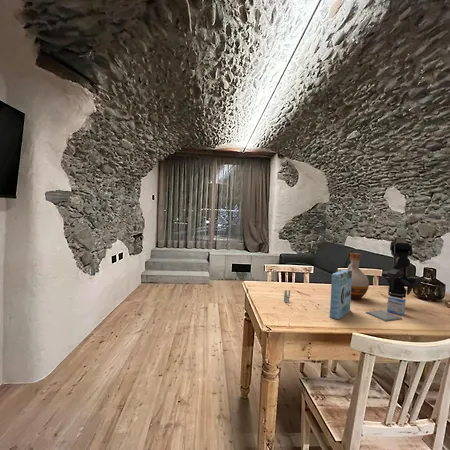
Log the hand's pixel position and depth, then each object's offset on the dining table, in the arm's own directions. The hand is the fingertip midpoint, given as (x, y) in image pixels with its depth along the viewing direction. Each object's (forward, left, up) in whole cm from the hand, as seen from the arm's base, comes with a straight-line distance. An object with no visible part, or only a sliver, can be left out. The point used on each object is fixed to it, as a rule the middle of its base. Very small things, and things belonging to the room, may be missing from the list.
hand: (399, 292), depth 148 cm
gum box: (-7, -35, -12) cm, 37 cm away
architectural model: (-29, -48, -13) cm, 57 cm away
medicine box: (-1, -1, -12) cm, 12 cm away
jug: (-29, -4, -12) cm, 32 cm away
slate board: (+1, -13, -12) cm, 17 cm away
